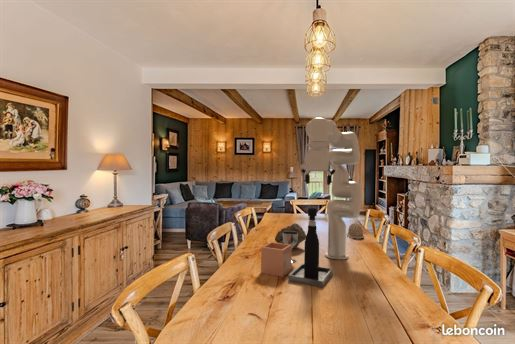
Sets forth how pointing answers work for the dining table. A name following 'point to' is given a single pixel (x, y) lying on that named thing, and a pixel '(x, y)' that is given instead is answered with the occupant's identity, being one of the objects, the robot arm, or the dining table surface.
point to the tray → (316, 281)
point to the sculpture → (355, 231)
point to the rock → (291, 228)
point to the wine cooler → (276, 258)
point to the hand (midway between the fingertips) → (318, 184)
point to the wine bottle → (311, 247)
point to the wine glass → (290, 239)
